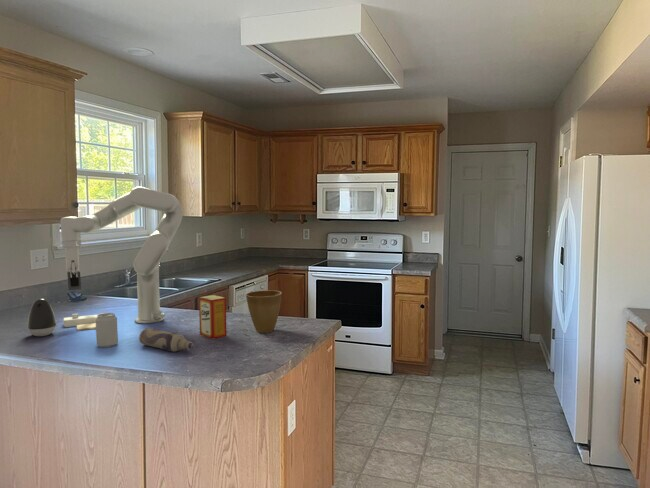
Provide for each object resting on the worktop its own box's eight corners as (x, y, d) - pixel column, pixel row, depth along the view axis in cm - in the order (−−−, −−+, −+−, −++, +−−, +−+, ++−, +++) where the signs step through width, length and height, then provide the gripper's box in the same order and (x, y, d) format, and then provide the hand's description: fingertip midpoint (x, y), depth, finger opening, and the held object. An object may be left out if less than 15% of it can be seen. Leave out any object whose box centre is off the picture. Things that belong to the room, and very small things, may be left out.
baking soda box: (200, 334, 203) (198, 296, 201) (213, 331, 207) (212, 294, 206) (212, 339, 196) (211, 299, 195) (226, 336, 200) (225, 296, 199)
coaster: (96, 324, 221) (96, 323, 221) (97, 328, 214) (97, 326, 214) (76, 326, 218) (76, 325, 218) (77, 330, 211) (77, 329, 211)
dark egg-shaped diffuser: (24, 339, 198) (22, 301, 197) (32, 332, 208) (30, 297, 207) (52, 337, 201) (50, 300, 200) (59, 330, 211) (57, 295, 210)
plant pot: (267, 324, 219) (267, 288, 218) (289, 330, 208) (288, 292, 207) (239, 330, 209) (238, 293, 207) (260, 337, 198) (260, 297, 197)
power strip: (107, 319, 231) (107, 309, 230) (108, 322, 225) (108, 312, 225) (64, 324, 223) (63, 313, 222) (64, 327, 217) (63, 316, 217)
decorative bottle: (138, 347, 186) (137, 329, 186) (154, 342, 192) (154, 325, 192) (185, 358, 172) (185, 339, 172) (201, 352, 179) (201, 334, 178)
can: (112, 341, 194) (110, 311, 193) (121, 344, 189) (120, 313, 188) (93, 345, 188) (91, 314, 187) (102, 349, 183) (101, 317, 182)
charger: (81, 288, 224) (79, 270, 223) (81, 289, 220) (80, 271, 219) (68, 289, 221) (67, 271, 221) (68, 290, 218) (67, 272, 217)
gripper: (62, 244, 225) (65, 283, 226) (61, 246, 210) (65, 289, 212) (80, 243, 228) (83, 282, 230) (81, 245, 213) (84, 287, 215)
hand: (74, 285), depth 221 cm, fingers closed on charger, 4 cm apart
